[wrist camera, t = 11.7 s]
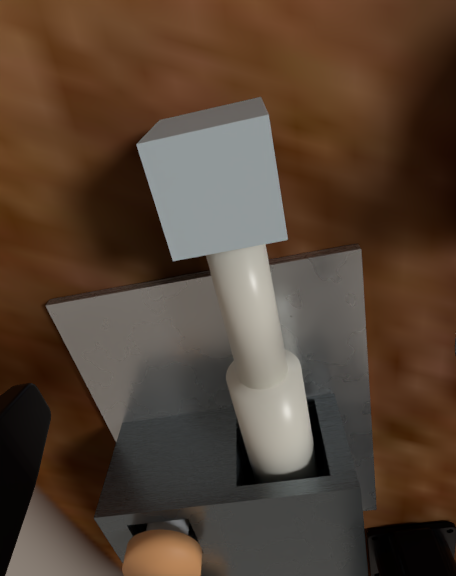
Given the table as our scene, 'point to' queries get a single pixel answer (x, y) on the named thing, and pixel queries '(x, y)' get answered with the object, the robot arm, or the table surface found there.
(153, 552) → the plunger
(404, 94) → the table surface
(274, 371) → the cube-topped plunger
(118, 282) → the table surface
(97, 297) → the grey slotted base
